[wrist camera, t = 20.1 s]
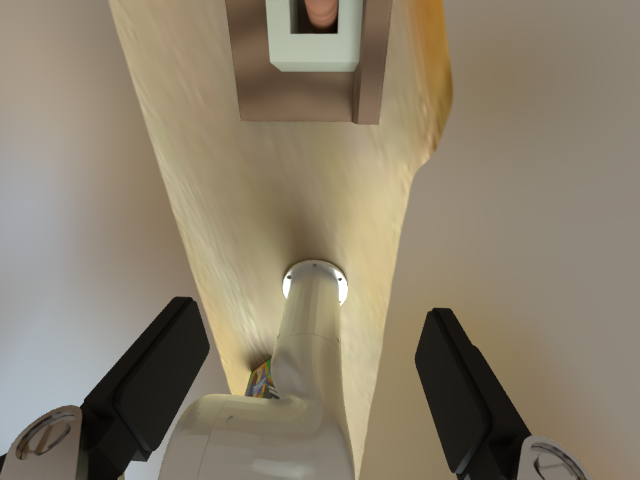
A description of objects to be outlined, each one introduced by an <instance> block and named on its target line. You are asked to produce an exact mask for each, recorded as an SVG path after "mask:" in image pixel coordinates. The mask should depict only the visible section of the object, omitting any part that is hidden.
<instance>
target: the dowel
mask: <svg viewBox="0 0 640 480" xmlns="http://www.w3.org/2000/svg"><path fill="white" fill-rule="evenodd" d="M305 4H306V8H307V12H308V16H309V20H310V23H311V27H312V31H313V33H314V34H335V32H336V30H337V24H338V0H305Z"/></svg>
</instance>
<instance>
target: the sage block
mask: <svg viewBox="0 0 640 480" xmlns="http://www.w3.org/2000/svg"><path fill="white" fill-rule="evenodd" d="M362 11H363V0H339V12H338V34H298V7H297V0H266V13H267V27H268V41H269V55H270V62H271V63H272V64H273V65H274V66H275V67H277V68H278V69H279V70H280V71H282V72H355V70H356V67H357V65H358V63H359V55H360V40H361V25H362Z"/></svg>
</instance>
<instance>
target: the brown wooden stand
mask: <svg viewBox="0 0 640 480" xmlns="http://www.w3.org/2000/svg"><path fill="white" fill-rule="evenodd" d="M225 2H226V10H227V17H228V25H229V33H230V40H231V48H232V56H233V63H234V71H235V79H236V86H237V94H238V102H239V109H240V117H241V121H329V122H353V123H356V124H377V125H379V118H380V108H381V99H382V90H383V81H384V72H385V63H386V54H387V45H388V35H389V26H390V17H391V8H392V0H363V11H362V25H361V40H360V55H359V63H358V65H357V67H356V70H355V72H282V71H280V70H279V69H278V68H277V67H275V66H274V65H273V64H272V63H271V62H270V55H269V41H268V27H267V13H266V0H225ZM297 7H298V34H314V33H313V31H312V27H311V23H310V20H309V16H308V12H307V8H306V4H305V0H297ZM338 12H339V0H338ZM335 34H338V24H337V30H336V32H335Z"/></svg>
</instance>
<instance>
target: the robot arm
mask: <svg viewBox="0 0 640 480" xmlns="http://www.w3.org/2000/svg"><path fill="white" fill-rule="evenodd" d="M282 288H283V293H284V296H285V298H286V299H287V300H286V304H285V308H284V312H283V316H282V320H281V323H280V327H279V331H278V335H277V339H276V343H275V347H274V350H273V355H272V359H271V376H272V380H273V384H274V386H275V389H276V391H277V393H278V395H279V397H280V399H265V398H256V397H247V396H239V395H227V394H211V395H206V396H203V397H200V398H199V399H197V400H196V401H194V402H193V403H192V404H190V405H189V406H188V407H187V409H186V410H185V411H184V412H183V414H182V415H181V417H180V419H179V420H178V422H177V424H176V426H175V428H174V430H173V432H172V434H171V437H170V439H169V442H168V445H167V448H166V451H165V454H164V457H163V461H162V465H161V469H160V473H159V477H158V480H355V466H354V458H353V450H352V445H351V439H350V434H349V428H348V423H347V417H346V411H345V404H344V394H343V382H342V357H341V323H340V305H341V304H342V303H343V302H344V300H345V298H346V296H347V292H348V286H347V280H346V278H345V276H344V274H343V273H342V271H341V270H339V269H338V268H337V267H336V266H334V265H333V264H331V263H328V262H326V261H322V260H306V261H302V262H299V263H297V264H295V265H294V266H292V267H291V268H290V269H289V270H288V271H287V273H286V275H285V277H284V280H283V285H282ZM209 349H210V346H209V342H208V339H207V335H206V332H205V328H204V325H203V322H202V318H201V315H200V312H199V309H198V306H197V303H196V302H195V301H193V299H192V298H191V297H174V298H173V299H172V300H171V301H170V303H169V304H168V305H167V306H166V307H165V308H164V309H163V310H162V312H161V313H160V314H159V315H158V316H157V317H156V318H155V320H154V321H153V322H152V323H151V324H150V325H149V326H148V328H147V329H146V330H145V331H144V332H143V333H142V334H141V335H140V337H139V338H138V339H137V340H136V341H135V342H134V343H133V345H132V346H131V347H130V348H129V349H128V350H127V351H126V352H125V354H124V355H123V356H122V357H121V358H120V359H119V360H118V362H117V363H116V364H115V365H114V366H113V367H112V369H111V370H110V371H109V372H108V373H107V374H106V375H105V376H104V377H103V379H102V380H101V381H100V382H99V383H98V384H97V385H96V387H95V388H94V389H93V390H92V391H91V392H90V394H89V395H88V396H87V397H86V398H85V399H84V403H83V404H82V405H81V406H80V407H78V406H74V405H69V406H62V407H59V408H57V409H54V410H51V411H50V412H48V413H46V414H44V415H43V416H41V417H39V418H38V419H37V420H35V421H34V422H33V423H31V424H30V425H29V426H28V427H27V428H26V429H24V430H23V431H22V432H21V433H20V434H19V436H18V437H17V438H16V439H15V441H14V442H13V443H12V445H11V447H10V449H9V451H8V453H6V454H4V455H2V456H0V480H124V471H125V470H126V468H127V466H128V464H129V463H130V461H143V462H147V460H148V458H149V456H150V455H151V453H152V451H155V450H156V449H157V448H158V447H159V445H160V444H161V442H162V440H163V438H164V436H165V434H166V432H167V431H168V429H169V427H170V425H171V423H172V421H173V419H174V417H175V415H176V414H177V412H178V410H179V408H180V406H181V404H182V402H183V400H184V398H185V396H186V395H187V393H188V391H189V389H190V387H191V385H192V383H193V381H194V380H195V378H196V376H197V374H198V372H199V370H200V368H201V366H202V364H203V363H204V361H205V359H206V356H207V355H208V353H209ZM415 364H416V368H417V371H418V374H419V377H420V380H421V383H422V386H423V389H424V392H425V395H426V398H427V401H428V405H429V407H430V411H431V414H432V417H433V420H434V423H435V426H436V429H437V432H438V435H439V438H440V441H441V444H442V448H443V451H444V454H445V457H446V460H447V463H448V466H449V468H450V470H451V472H452V473H456V475H457V478H458V480H593V478H592V476H591V474H590V473H589V472H588V471H587V469H586V468H585V467H584V465H583V464H582V463H581V462H580V461H579V460H578V459H577V458H576V457H575V456H574V455H573V454H571V452H570V451H568V450H567V449H565V448H564V447H563V446H561V445H560V444H558V443H556V442H555V441H552V440H551V439H549V438H545V437H542V436H532V435H531V433H530V432H529V430H528V428H527V427H526V425H525V423H524V422H523V420H522V418H521V417H520V415H519V413H518V412H517V410H516V409H515V407H514V405H513V404H512V402H511V400H510V399H509V397H508V396H507V394H506V392H505V391H504V389H503V387H502V386H501V384H500V383H499V381H498V379H497V378H496V376H495V375H494V373H493V371H492V370H491V368H490V366H489V365H488V363H487V362H486V360H485V358H484V357H483V355H482V354H481V352H480V351H479V349H478V348H477V347H476V346H474V345H472V343H471V341H470V340H469V338H468V337H467V335H466V333H465V331H464V330H463V328H462V326H461V325H460V323H459V321H458V320H457V318H456V316H455V315H454V313H453V311H452V310H451V309H449V308H433V309H432V311H429V312H428V313H427V316H426V320H425V323H424V327H423V330H422V334H421V337H420V340H419V344H418V347H417V351H416V354H415Z"/></svg>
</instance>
